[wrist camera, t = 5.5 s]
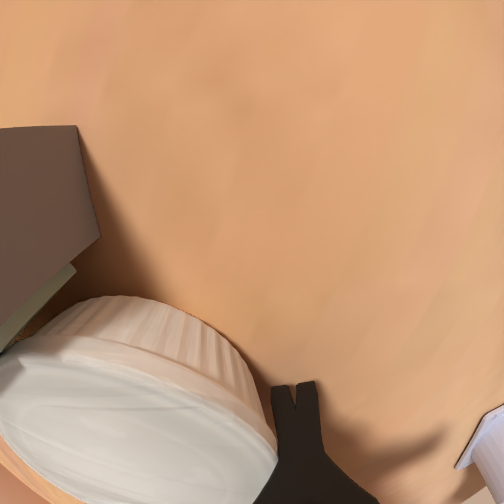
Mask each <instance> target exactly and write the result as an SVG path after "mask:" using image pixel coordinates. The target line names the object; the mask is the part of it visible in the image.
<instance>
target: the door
mask: <svg viewBox="0 0 504 504" xmlns="http://www.w3.org/2000/svg"><path fill="white" fill-rule="evenodd" d="M76 272H77V271H76V269H75V268H74V267H73V266H72V265H71V263H70V262H69V263H68V264H67V265H66V266H65V267H63V268H62V269H61V270H60V271H59V272H58V273H57V274H55V275H54V276H53V277H52V278H51V279H50V280H49V281H48V282H46V283H45V284H44V285H43V286H42V287H41V288H40V289H39V290H38V291H37V292H36V293H34V294H33V295H32V296H31V297H30V298H29V299H28V300H27V301H26V302H25V303H24V304H23V305H22V306H21V307H20V308H19V309H18V310H17V311H16V312H15V313H14V314H12V315H11V316H10V317H9V318H8V319H7V320H6V321H5V322H4V323H3V324H2V325H1V327H0V354H1V353H2V352H3V351H4V350H5V349H7V348H8V347H9V346H10V345H11V344H12V343H13V342H14V341H15V339H16V338H17V337H18V336H19V335H20V333H21V332H22V331H23V330H24V329H25V327H26V326H27V325H28V324H29V323H30V322H31V321H32V319H33V318H34V317H35V316H36V315H37V314H38V313H39V311H40V310H41V309H42V308H43V307H44V306H45V305H46V304H47V303H48V301H49V300H50V299H51V298H52V297H53V296H54V295H55V294H56V293H57V292H58V291H59V290H60V289H61V288H62V286H63V285H64V284H65V283H66V282H67V281H68V280H69V279H70V278H71V277H72V276H73V275H74V274H75V273H76Z"/></svg>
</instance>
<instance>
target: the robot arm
mask: <svg viewBox="0 0 504 504" xmlns="http://www.w3.org/2000/svg"><path fill="white" fill-rule="evenodd" d="M296 391H297V392H296V405H295V404H294V402H293V399H292V396H291V393H290V390H289V386H287V385H282V386H274V387H271V405H272V410H273V416H274V421H275V427H276V432H277V438H278V443H279V457H280V458H279V460H278V462H277V464H276V466H275V468H274V470H273V472H272V474H271V476H270V478H269V479H268V481H267V483H266V484H265V486H264V487H263V489H262V491H261V492H260V494H259V495H258V497H257V498H256V499H255V501H254V502H253V503H252V504H380V503H379V502H378V500H377V499H376V498H375V497H374V496H372V495H371V494H369V493H368V492H366V491H365V490H364V489H363V488H361V487H360V486H359V485H358V484H356V483H355V482H354V481H353V480H352V479H350V478H349V477H348V476H347V475H346V474H345V473H344V472H343V471H342V470H341V469H340V468H339V467H338V466H337V465H336V464H335V463H334V462H333V461H332V460H331V459H330V457H329V456H328V455H327V454H326V453H325V451H324V446H323V442H322V436H321V426H320V415H319V403H318V394H317V390H316V386H315V383H314V381H310V382H304V383H298V384H297V385H296ZM474 462H475V464H476V466H477V468H478V470H479V471H480V473H481V475H482V477H483V479H484V481H485V483H486V485H487V487H488V489H489V491H490V493H491V494H492V497H493V498H494V500H495V503H496V504H504V405H502V406H500V407H499V408H497V409H495V410H493V411H491V412H489V413H488V414H486V415H485V416H484V417H483V419H482V421H481V423H480V424H479V426H478V428H477V430H476V432H475V434H474V436H473V438H472V439H471V441H470V443H469V445H468V446H467V448H466V450H465V452H464V453H463V455H462V457H461V458H460V460H459V461H458V463H457V465H456V466H455V469H456V470H460V469H462V468H464V467H466V466H468V465H470V464H472V463H474Z"/></svg>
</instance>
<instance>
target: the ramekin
mask: <svg viewBox="0 0 504 504" xmlns="http://www.w3.org/2000/svg"><path fill="white" fill-rule="evenodd" d="M0 434H1V436H2V437H3V439H4V440H5V441H6V442H7V444H8V445H9V446H10V447H11V449H12V450H13V451H14V452H15V453H16V454H17V455H18V456H19V457H20V458H21V459H22V460H23V461H24V462H25V463H26V464H27V465H28V466H29V467H31V468H32V469H33V470H34V471H35V472H37V473H38V474H39V475H40V476H42V477H43V478H44V479H46V480H47V481H49V482H50V483H52V484H53V485H55V486H56V487H58V488H59V489H61V490H63V491H64V492H66V493H68V494H70V495H71V496H73V497H75V498H77V499H79V500H81V501H83V502H85V503H87V504H252V503H253V502H254V501H255V499H256V498H257V497H258V495H259V494H260V492H261V491H262V489H263V487H264V486H265V484H266V483H267V481H268V479H269V478H270V476H271V474H272V472H273V470H274V468H275V466H276V464H277V462H278V460H279V458H280V457H279V445H278V443H277V440H276V438H275V436H274V434H273V432H272V431H271V429H270V428H269V427H268V425H267V423H266V419H265V416H264V412H263V409H262V406H261V402H260V399H259V396H258V393H257V390H256V386H255V383H254V380H253V377H252V375H251V373H250V371H249V369H248V366H247V364H246V363H245V361H244V360H243V359H242V358H241V356H240V354H239V353H238V351H237V350H236V349H235V348H234V347H232V346H231V344H230V343H229V342H228V341H227V340H226V339H225V338H224V337H222V336H221V335H220V334H219V333H218V332H217V331H216V330H215V329H213V328H211V327H209V326H208V325H206V324H205V323H203V322H202V321H201V320H199V319H198V318H195V317H193V316H191V315H189V314H187V313H186V312H184V311H182V310H179V309H176V308H174V307H172V306H170V305H168V304H164V303H161V302H158V301H155V300H149V299H144V298H140V297H136V296H133V297H129V296H123V295H118V296H102V297H98V298H90V299H88V300H86V301H83V302H78V303H76V304H74V305H73V306H72V307H69V308H67V309H66V310H64V311H63V312H62V313H60V314H59V315H57V316H56V317H55V318H53V319H52V320H51V321H49V322H48V323H47V324H45V325H44V326H43V327H42V328H41V329H40V330H38V331H37V332H36V333H34V334H33V335H32V336H31V337H29V338H26V339H23V340H20V341H18V342H16V343H14V344H12V345H11V346H9V347H8V348H7V349H5V350H4V351H3V352H2V353H1V354H0Z"/></svg>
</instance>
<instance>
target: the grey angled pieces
mask: <svg viewBox="0 0 504 504" xmlns="http://www.w3.org/2000/svg"><path fill="white" fill-rule="evenodd" d="M99 237H101V234H100V231H99V227H98V223H97V220H96V216H95V212H94V208H93V204H92V200H91V196H90V192H89V188H88V184H87V179H86V175H85V170H84V165H83V160H82V155H81V150H80V145H79V139H78V134H77V128H76V125H72V126H32V127H14V128H1V129H0V327H1V325H2V324H3V323H4V322H5V321H6V320H7V319H8V318H9V317H10V316H11V315H12V314H14V313H15V312H16V311H17V310H18V309H19V308H20V307H21V306H22V305H23V304H24V303H25V302H26V301H27V300H28V299H29V298H30V297H31V296H32V295H33V294H34V293H36V292H37V291H38V290H39V289H40V288H41V287H42V286H43V285H44V284H45V283H46V282H48V281H49V280H50V279H51V278H52V277H53V276H54V275H55V274H57V273H58V272H59V271H60V270H61V269H62V268H63V267H65V266H66V265H67V264H68V263H69V262H70V261H72V260H73V259H74V258H75V257H76V256H77V255H79V254H80V253H81V252H82V251H83V250H85V249H86V248H87V247H88V246H89V245H91V244H92V243H93V242H94V241H96V240H97V239H98V238H99Z"/></svg>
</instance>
